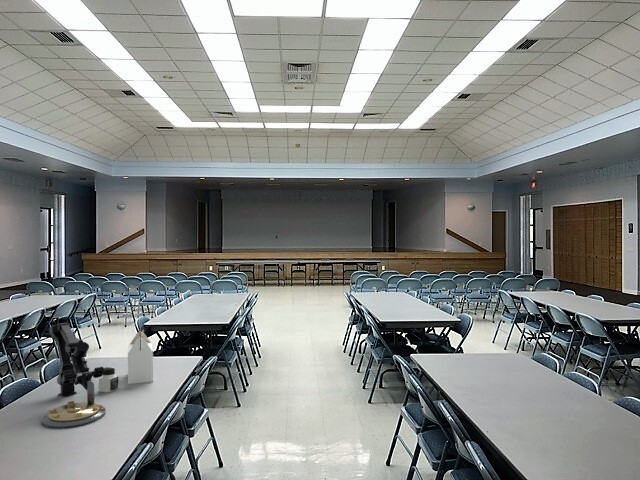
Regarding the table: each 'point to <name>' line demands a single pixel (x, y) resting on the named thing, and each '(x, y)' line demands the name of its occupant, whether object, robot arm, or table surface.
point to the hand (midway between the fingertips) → (88, 390)
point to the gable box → (140, 359)
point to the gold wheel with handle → (76, 408)
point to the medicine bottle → (108, 380)
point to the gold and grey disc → (94, 418)
